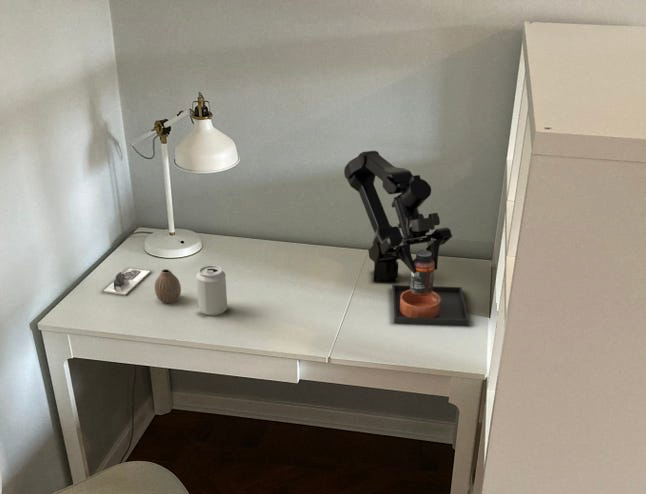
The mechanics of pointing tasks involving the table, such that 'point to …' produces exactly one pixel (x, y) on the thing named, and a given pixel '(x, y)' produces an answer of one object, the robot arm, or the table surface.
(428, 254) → the supplement bottle
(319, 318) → the table surface
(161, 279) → the vase
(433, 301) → the bowl
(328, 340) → the table surface
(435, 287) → the tray
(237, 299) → the table surface
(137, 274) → the rock on white stand
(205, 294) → the can
